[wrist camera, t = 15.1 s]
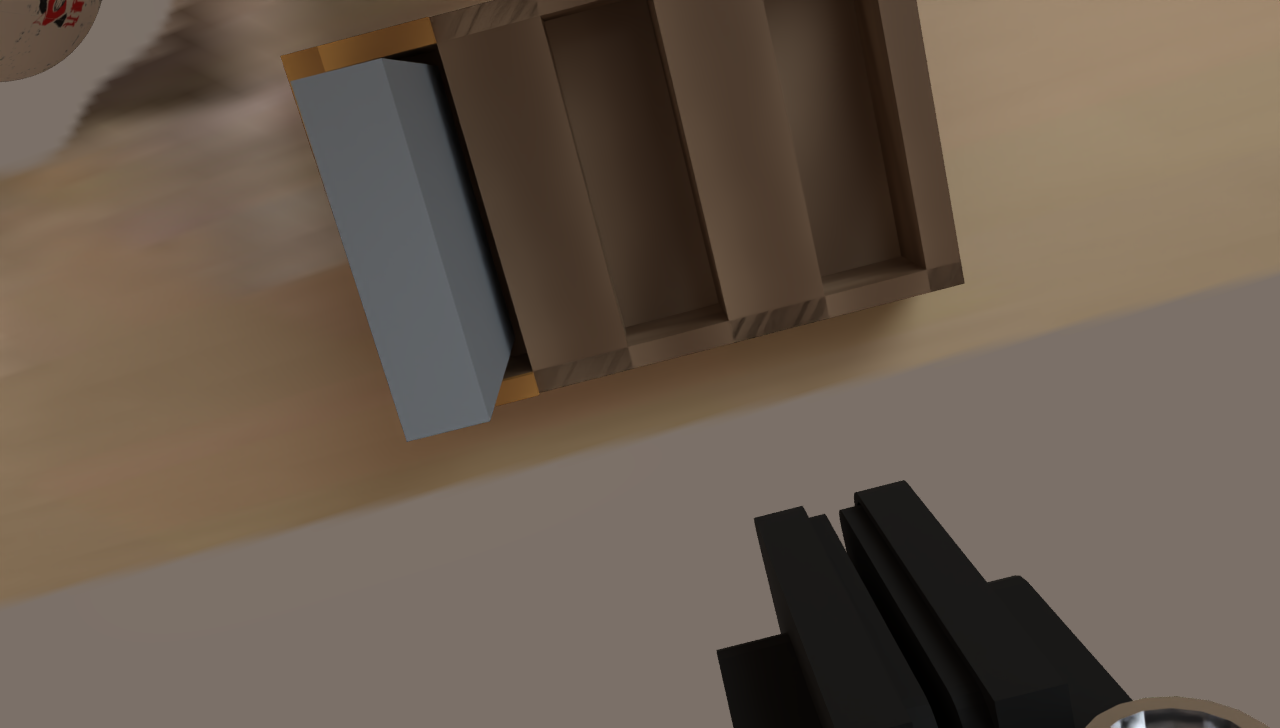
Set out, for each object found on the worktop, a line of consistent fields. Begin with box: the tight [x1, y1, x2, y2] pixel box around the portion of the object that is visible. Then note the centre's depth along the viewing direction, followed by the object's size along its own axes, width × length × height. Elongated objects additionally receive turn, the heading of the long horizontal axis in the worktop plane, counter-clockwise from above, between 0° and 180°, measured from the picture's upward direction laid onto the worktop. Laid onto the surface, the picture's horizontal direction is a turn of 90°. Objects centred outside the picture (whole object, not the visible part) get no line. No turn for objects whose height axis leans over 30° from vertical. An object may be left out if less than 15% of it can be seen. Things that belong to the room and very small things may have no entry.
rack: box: [280, 0, 964, 407], centre depth 36 cm, size 20×13×5 cm, turn 104°
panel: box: [290, 58, 515, 442], centre depth 32 cm, size 2×10×10 cm, turn 14°
